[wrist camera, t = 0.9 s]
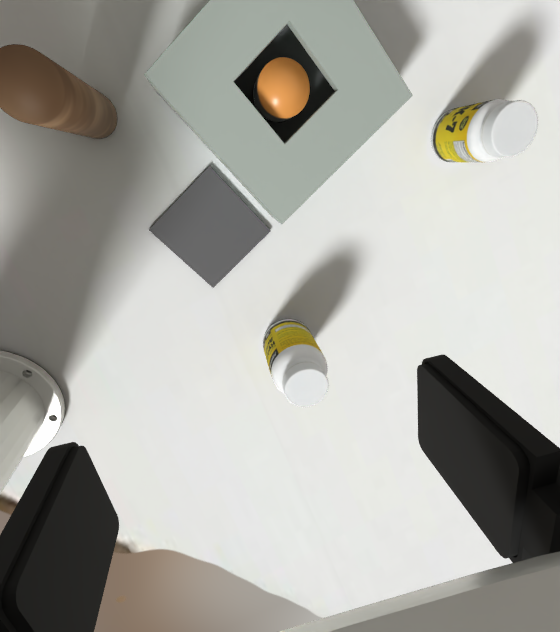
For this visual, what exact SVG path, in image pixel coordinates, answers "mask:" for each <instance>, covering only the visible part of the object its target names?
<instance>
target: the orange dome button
mask: <svg viewBox="0 0 560 632" xmlns="http://www.w3.org/2000/svg"><path fill="white" fill-rule="evenodd" d="M309 92H310V85H309V79H308V76H307V74H306V72H305V70H304V68H303V67H302V66H301V65H300V64H299V63H298V62H296V61H295V60H293V59H290V58H286V57H280V58H276V59H273V60H271V61H270V62H269V63H267V64H266V65H265V67H264V68H263V70H262V71H261V73H260V74H259V76H258V78H257V79H256V82H255V84H254V89H253V98H254V103H255V106H256V108H257V110H258V111H259V113H260V114H261V115H262V116H263V117H264V118H266V119H267V120H270V121H273V122H283V121H286V120H288V119H290V118H291V117H293V116H295V115H297V114H298V113H299V112H301V111H302V109H303V108H304V107H305V105H306V103H307V101H308V98H309Z"/></svg>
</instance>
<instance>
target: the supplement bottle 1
mask: <svg viewBox="0 0 560 632" xmlns="http://www.w3.org/2000/svg"><path fill="white" fill-rule="evenodd" d="M263 348H264V352H265V356H266V359H267V363H268V366H269V370H270V373H271V376H272V379H273V382H274V384H275V386H276V387H277V388H278V389H279V390H280V391H281V392H282V393H284V394H285V396H286V398H287V400H288V401H289V402H290V403H291V404H293V405H295V406H298V407H310V406H313V405H315V404H317V403H319V402H320V401H321V400H322V399H323V398H324V397H325V396H326V394H327V391H328V387H329V383H328V379H327V377H326V376H327V370H328V368H327V362H326V359H325V357H324V355H323V354H322V352H321V350H320V348H319V347H318V345H317V343H316V342H315V340H314V338H313V336H312V335H311V333H310V331H309V330H308V328H307V327H306V326H305V325H304V324H303V323H301V322H299V321H297V320H293V319H285V320H281V321H278V322H276V323H274V324H273V325H271V326H270V327H269V328H268V330H267V331H266V333H265V335H264V339H263Z"/></svg>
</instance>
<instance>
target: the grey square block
mask: <svg viewBox="0 0 560 632" xmlns="http://www.w3.org/2000/svg"><path fill="white" fill-rule="evenodd" d="M286 25H288V26H289V27H290V29H291V30H292V32H293V33H294V35H295V36H296V37H297V39H298V40H299V42H300V43H301V44H302V46H303V47H304V49H305V50H306V51H307V53H308V54H309V56H310V57H311V58H312V60H313V61H314V63H315V64H316V65H317V67H318V68H319V70H320V71H321V72H322V74H323V75H324V77H325V78H326V79H327V81H328V82H329V84H330V85H331V87H332V88H333V89H334V91H335V92H334V93H333V94H332V95H331V96H330V97H329V98H328V99H327V100H326V101H325V102H324V103H323V104H322V105H321V106H320V107H319V108H318V109H317V110H316V111H315V112H314V113H313V114H312V116H311V117H310V118H309V119H308V120H307V121H306V122H305V123H304V124H303V125H302V126H301V127H300V128H299V129H298V130H297V131H296V132H295V133H294V134H293V135H292V136H291V137H290V138H289V139H288V140H287V141H286V142H285V143H283V141H282V140H281V139H280V138H279V136H278V135H277V134H276V133H275V132H274V130H273V129H272V128H271V127H270V126H269V124H268V123H267V122H266V121H265V119H264V118H263V117H262V116H261V115H260V113H259V112H258V111H257V110H256V108H255V107H254V106H253V105H252V104H251V102H250V101H249V100H248V99H247V98H246V96H245V95H244V94H243V93H242V91H241V90H240V89H239V88H238V87H237V85H236V84H235V83H234V81H235V80H236V79H237V78H238V77H239V76H240V75H241V74H242V73H243V72H244V71H245V70H246V68H247V67H248V66H249V65H250V64H251V63H252V62H253V61H254V60H255V59H256V58H257V57H258V55H259V54H260V53H261V52H262V51H263V50H264V49H265V48H266V47H267V46H268V45H269V44H270V43H271V41H272V40H273V39H274V38H275V37H276V36H277V35H278V34H279V33H280V32H281V31H282V30H283V28H284V27H285V26H286ZM144 75H145V76H146V78H147V79H148V81H149V82H150V83H151V85H152V86H153V88H154V89H155V90H156V92H157V93H158V94H159V95H160V96H161V97H162V98H163V99H164V100H165V101H166V102H167V104H168V105H169V106H170V107H171V108H172V109H173V110H174V111H175V112H176V113H177V114H178V115H179V117H180V118H181V119H182V120H183V121H184V122H185V123H186V124H187V125H188V126H189V127H190V128H191V130H192V131H193V132H194V133H195V134H196V135H197V136H198V137H199V138H200V139H201V140H202V141H203V143H204V144H205V145H206V146H207V147H208V148H209V149H210V150H211V151H212V152H213V153H214V155H215V156H216V157H217V158H218V159H219V160H220V161H221V162H222V163H223V164H224V165H225V166H226V168H227V169H228V170H229V171H230V172H231V173H232V174H233V175H234V176H235V177H236V178H237V179H238V181H239V182H240V183H241V184H242V185H243V186H244V187H245V188H246V189H247V190H248V191H249V193H250V194H251V195H252V196H253V197H254V198H255V199H256V200H257V201H258V202H259V203H260V204H261V206H262V207H263V208H264V209H265V210H266V211H267V212H268V213H269V214H270V215H271V216H272V217H273V218H274V219H276V220H277V221H278V222H279V223H281V224H283V223H284V222H285V221H286V220H287V219H288V218H289V217H290V216H291V215H292V214H293V213H294V212H295V211H296V210H297V209H298V208H299V207H300V206H301V205H302V204H303V203H304V202H305V201H306V200H307V199H308V198H309V197H310V196H311V195H312V194H313V193H314V192H315V191H316V190H317V189H318V188H319V187H320V186H321V185H322V184H323V183H324V182H325V181H326V180H327V179H328V178H329V177H330V176H332V175H333V174H334V173H335V172H336V171H337V170H338V169H339V168H340V167H341V166H342V165H343V164H344V163H345V162H346V161H347V160H348V159H349V158H350V157H351V156H352V155H353V154H354V153H355V152H356V151H357V150H358V149H359V148H360V147H361V146H362V145H363V144H364V143H365V142H366V141H367V140H368V139H369V138H370V137H371V136H372V135H373V134H374V133H375V132H376V131H377V130H378V129H379V128H380V127H381V126H382V125H383V124H384V123H385V122H386V121H387V120H388V119H389V118H390V117H391V116H392V115H393V114H394V113H395V112H396V111H397V110H398V109H399V108H400V107H401V106H402V105H403V104H405V103H406V102H407V101H408V100H409V99H410V98H411V97H412V96H413V95H412V93H411V92H410V90H409V89H408V87H407V85H406V84H405V82H404V81H403V79H402V77H401V76H400V74H399V73H398V71H397V69H396V68H395V66H394V65H393V63H392V61H391V60H390V58H389V57H388V55H387V53H386V52H385V50H384V48H383V47H382V45H381V44H380V42H379V40H378V39H377V37H376V36H375V34H374V32H373V31H372V29H371V28H370V26H369V24H368V23H367V21H366V20H365V18H364V16H363V15H362V13H361V12H360V10H359V8H358V7H357V5H356V4H355V2H354V0H209V2H208V3H207V4H206V5H205V6H204V7H203V8H202V10H201V11H200V12H199V13H198V14H197V15H196V16H195V17H194V19H193V20H192V21H191V22H190V23H189V24H188V25H187V27H186V28H185V29H184V30H183V31H182V32H181V33H180V34H179V36H178V37H177V38H176V39H175V40H174V41H173V42H172V44H171V45H170V46H169V47H168V48H167V49H166V50H165V51H164V53H163V54H162V55H161V56H160V57H159V58H158V59H157V61H156V62H155V63H154V64H153V65H152V66H151V67H150V68H149V70H148V71H147V72H146V73H145V74H144Z"/></svg>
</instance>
